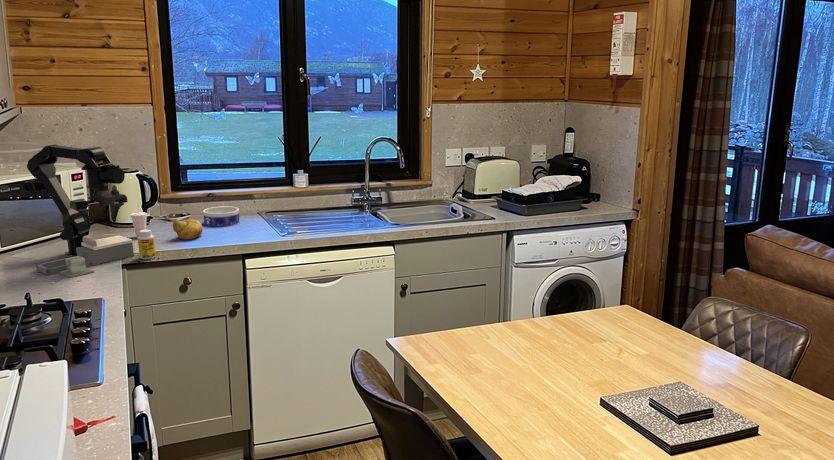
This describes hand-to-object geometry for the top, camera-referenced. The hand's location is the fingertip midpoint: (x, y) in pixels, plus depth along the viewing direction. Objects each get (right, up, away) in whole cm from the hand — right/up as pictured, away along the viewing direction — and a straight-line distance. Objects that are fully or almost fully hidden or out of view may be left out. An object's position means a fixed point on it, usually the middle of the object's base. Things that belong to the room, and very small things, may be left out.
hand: (101, 224), depth 249 cm
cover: (+2, -7, 0) cm, 7 cm away
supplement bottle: (+17, -12, +1) cm, 21 cm away
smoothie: (+2, -5, +31) cm, 31 cm away
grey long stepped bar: (-3, -14, -5) cm, 15 cm away
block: (-1, -16, -17) cm, 23 cm away
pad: (-1, -17, -17) cm, 24 cm away
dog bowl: (+28, +1, +55) cm, 62 cm away
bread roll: (+23, -5, +30) cm, 38 cm away
